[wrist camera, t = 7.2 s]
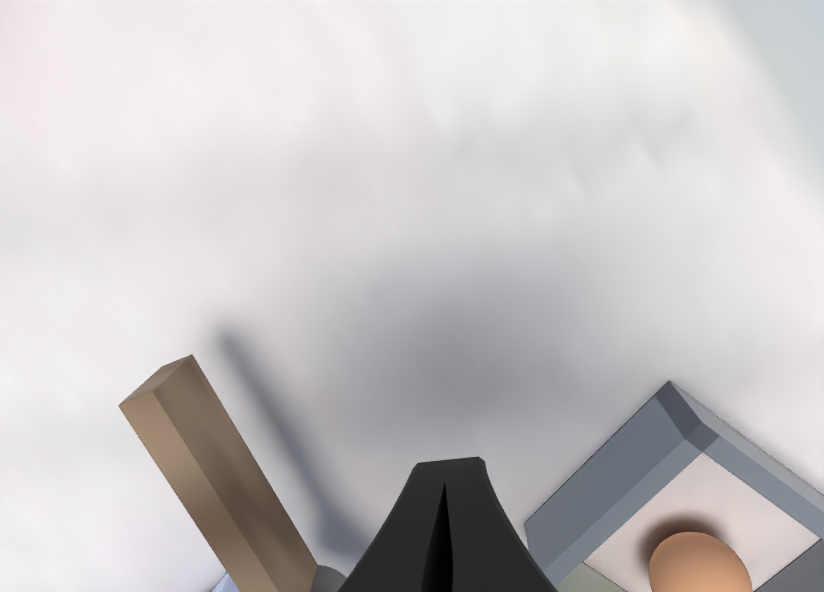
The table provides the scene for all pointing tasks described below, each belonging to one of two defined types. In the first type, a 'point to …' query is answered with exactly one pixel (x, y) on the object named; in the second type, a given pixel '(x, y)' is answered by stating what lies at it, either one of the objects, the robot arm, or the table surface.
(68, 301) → the table surface
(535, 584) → the robot arm
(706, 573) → the ball
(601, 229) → the table surface
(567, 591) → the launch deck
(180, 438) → the flipper lever
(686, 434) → the tray
